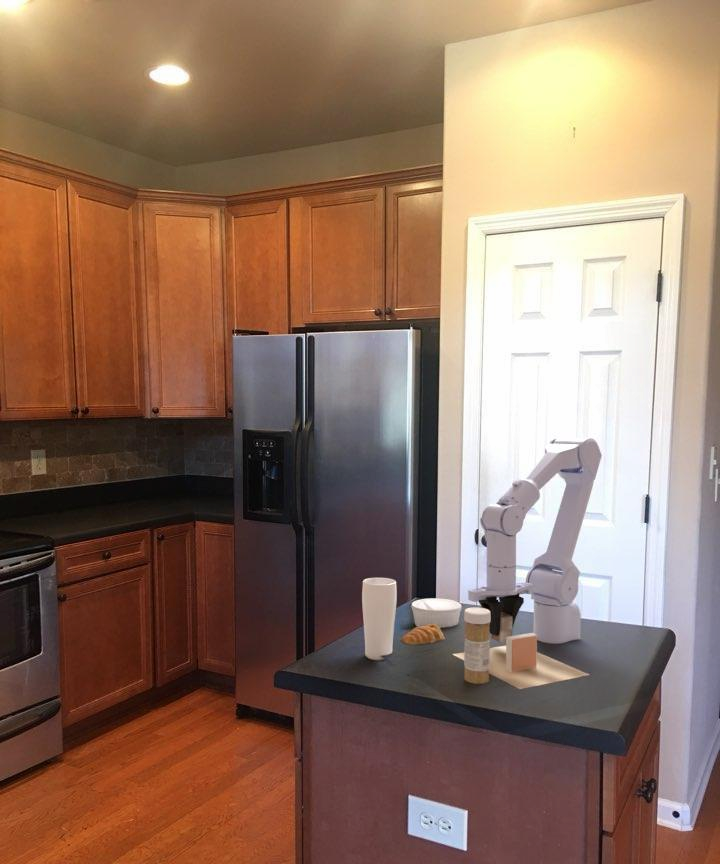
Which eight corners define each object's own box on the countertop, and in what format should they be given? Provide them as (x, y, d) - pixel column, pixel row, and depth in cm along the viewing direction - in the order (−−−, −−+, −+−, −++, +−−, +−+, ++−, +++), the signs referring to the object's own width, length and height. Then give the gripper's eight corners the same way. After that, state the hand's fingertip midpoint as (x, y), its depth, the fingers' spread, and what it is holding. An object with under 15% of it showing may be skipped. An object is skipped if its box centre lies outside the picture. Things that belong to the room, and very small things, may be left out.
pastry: (416, 654, 142) (416, 635, 142) (392, 646, 147) (392, 628, 147) (447, 645, 148) (447, 626, 148) (424, 637, 153) (424, 620, 153)
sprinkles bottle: (477, 679, 128) (478, 605, 128) (495, 687, 124) (496, 611, 124) (458, 684, 125) (459, 608, 125) (475, 692, 121) (476, 614, 121)
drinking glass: (402, 656, 140) (403, 581, 140) (380, 665, 135) (381, 586, 135) (377, 649, 144) (378, 575, 144) (354, 656, 139) (355, 581, 139)
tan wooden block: (501, 636, 143) (502, 611, 142) (512, 641, 140) (512, 615, 140) (491, 638, 141) (491, 613, 141) (501, 642, 138) (502, 617, 138)
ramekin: (401, 626, 162) (401, 603, 161) (433, 617, 169) (434, 595, 169) (438, 637, 153) (438, 613, 153) (471, 627, 161) (471, 604, 161)
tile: (531, 664, 132) (531, 632, 132) (537, 667, 131) (537, 635, 131) (505, 669, 130) (506, 636, 130) (511, 672, 128) (511, 639, 128)
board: (517, 649, 145) (517, 643, 145) (589, 681, 127) (589, 674, 127) (452, 660, 138) (452, 654, 138) (519, 696, 120) (519, 689, 120)
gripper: (483, 572, 134) (483, 644, 134) (543, 565, 140) (542, 633, 141) (462, 565, 140) (461, 633, 140) (519, 559, 147) (519, 624, 147)
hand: (500, 633), depth 141 cm, fingers closed on tan wooden block, 3 cm apart
